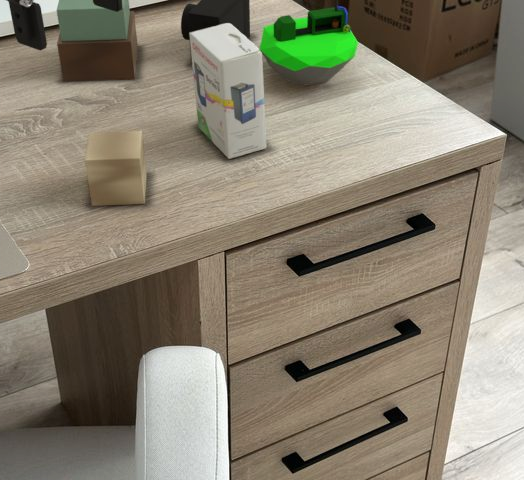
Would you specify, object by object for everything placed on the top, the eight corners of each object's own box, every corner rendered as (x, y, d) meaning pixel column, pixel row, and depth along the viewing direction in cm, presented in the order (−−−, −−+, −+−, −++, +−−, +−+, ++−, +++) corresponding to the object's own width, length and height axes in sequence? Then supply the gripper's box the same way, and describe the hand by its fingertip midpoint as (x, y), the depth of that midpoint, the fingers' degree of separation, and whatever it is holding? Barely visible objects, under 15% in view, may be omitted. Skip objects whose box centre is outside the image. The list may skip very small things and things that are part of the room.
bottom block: (63, 81, 119) (56, 43, 116) (69, 50, 126) (64, 13, 123) (135, 79, 120) (130, 41, 116) (137, 47, 126) (134, 10, 123)
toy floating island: (333, 51, 125) (337, -33, 117) (368, 91, 117) (375, 3, 109) (246, 65, 122) (244, -20, 115) (276, 108, 114) (276, 18, 106)
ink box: (267, 150, 107) (266, 49, 99) (226, 161, 105) (221, 60, 97) (233, 116, 112) (230, 19, 104) (194, 127, 111) (187, 29, 103)
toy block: (91, 206, 99) (84, 160, 95) (95, 177, 103) (89, 132, 99) (144, 204, 99) (139, 158, 95) (146, 175, 103) (141, 130, 99)
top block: (61, 41, 116) (56, 9, 114) (67, 14, 122) (62, -17, 120) (127, 39, 117) (123, 7, 114) (130, 12, 123) (126, -19, 120)
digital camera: (213, 31, 130) (210, -20, 125) (250, 36, 128) (249, -15, 124) (182, 63, 123) (178, 10, 118) (221, 70, 121) (219, 16, 117)
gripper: (81, -215, 81) (106, -15, 92) (-81, -168, 71) (-31, 50, 82) (148, -203, 78) (165, 3, 89) (-12, -153, 67) (30, 73, 79)
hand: (71, 26), depth 86 cm, fingers open, 9 cm apart
